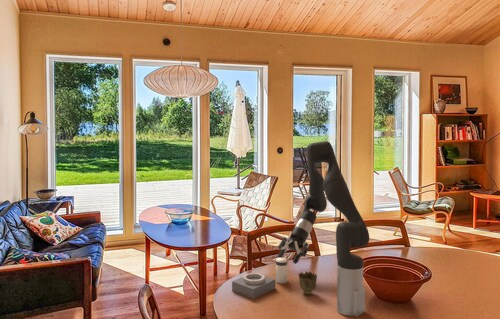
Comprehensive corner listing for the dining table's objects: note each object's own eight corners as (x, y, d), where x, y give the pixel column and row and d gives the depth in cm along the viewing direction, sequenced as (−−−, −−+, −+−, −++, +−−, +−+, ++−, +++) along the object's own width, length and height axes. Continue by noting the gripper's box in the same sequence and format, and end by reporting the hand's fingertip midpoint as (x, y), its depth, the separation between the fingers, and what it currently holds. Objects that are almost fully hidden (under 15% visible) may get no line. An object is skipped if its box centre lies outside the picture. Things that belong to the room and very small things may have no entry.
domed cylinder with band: (289, 281, 168) (289, 259, 168) (282, 284, 165) (282, 262, 164) (280, 278, 172) (280, 256, 171) (273, 281, 168) (273, 259, 167)
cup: (302, 298, 151) (302, 278, 150) (295, 291, 158) (295, 272, 157) (319, 296, 153) (320, 277, 152) (312, 289, 160) (312, 270, 159)
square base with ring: (275, 288, 160) (275, 275, 160) (253, 299, 150) (253, 285, 150) (254, 281, 168) (254, 269, 168) (232, 290, 158) (232, 277, 158)
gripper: (286, 223, 181) (270, 252, 173) (311, 228, 171) (296, 259, 163) (292, 232, 185) (278, 261, 177) (317, 238, 175) (303, 268, 168)
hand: (286, 260), depth 170 cm, fingers open, 8 cm apart
